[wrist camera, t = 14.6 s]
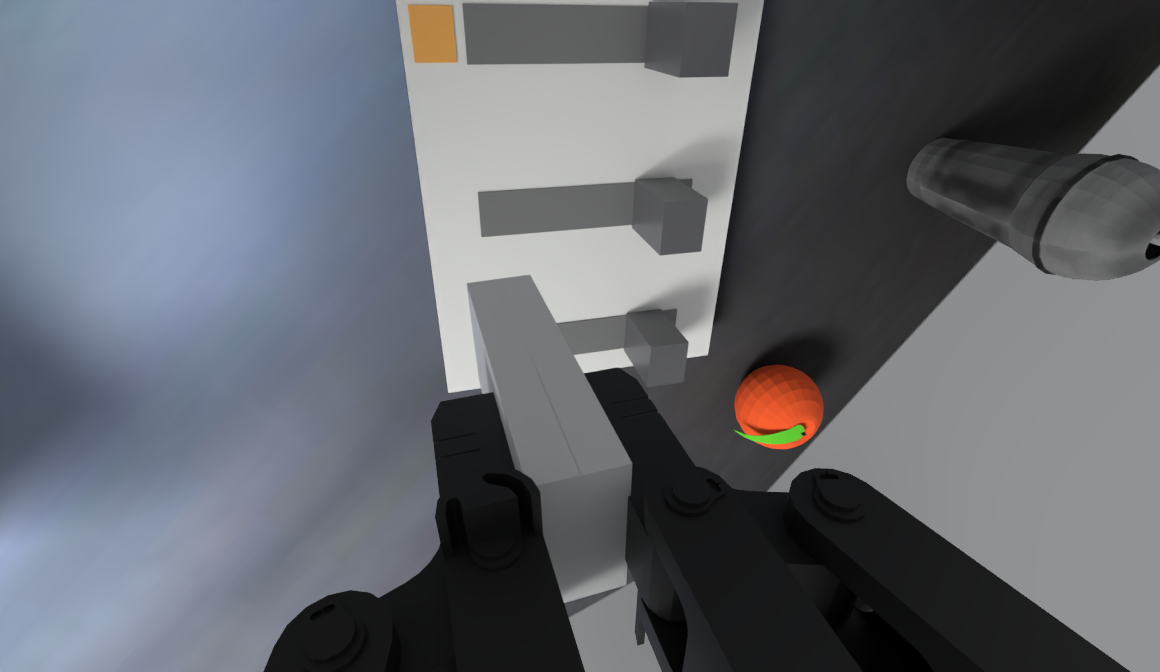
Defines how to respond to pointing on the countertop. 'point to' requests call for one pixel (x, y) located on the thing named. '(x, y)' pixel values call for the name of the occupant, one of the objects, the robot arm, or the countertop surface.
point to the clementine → (778, 407)
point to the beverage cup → (1047, 204)
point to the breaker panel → (574, 173)
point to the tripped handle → (690, 38)
